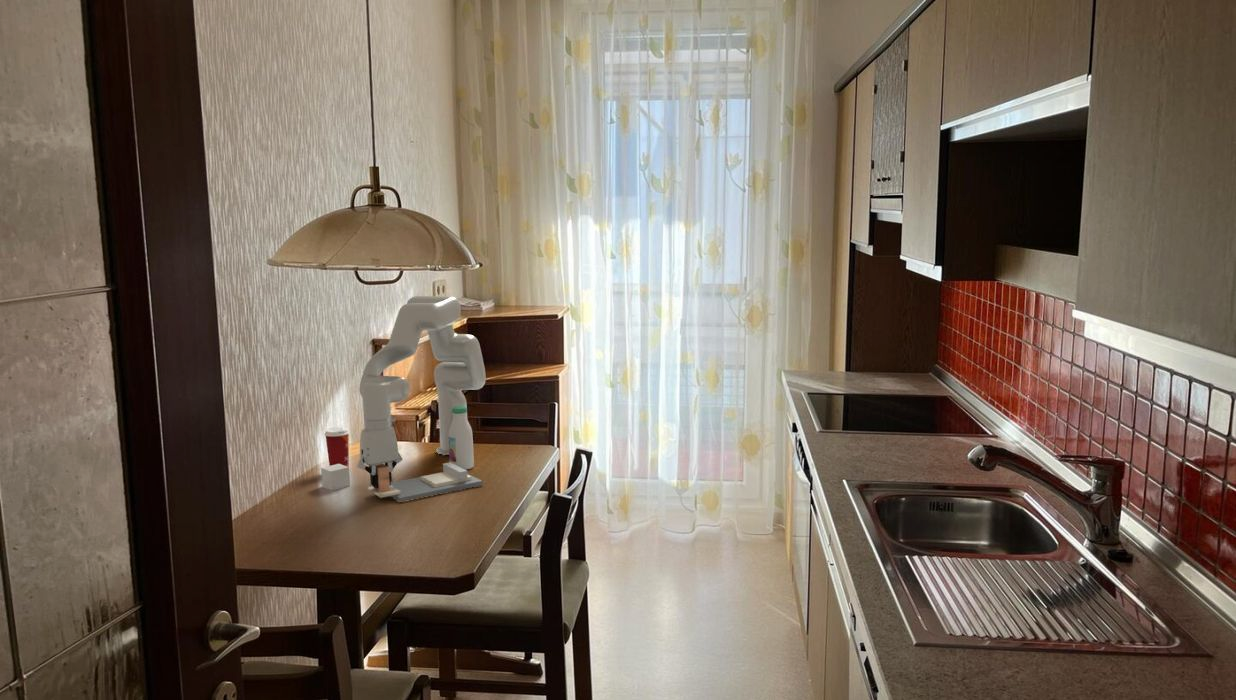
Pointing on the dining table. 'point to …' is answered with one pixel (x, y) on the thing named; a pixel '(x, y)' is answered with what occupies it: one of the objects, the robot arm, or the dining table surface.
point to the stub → (383, 483)
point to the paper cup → (338, 445)
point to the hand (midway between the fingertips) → (381, 485)
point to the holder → (435, 483)
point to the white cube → (335, 477)
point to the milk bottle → (461, 439)
